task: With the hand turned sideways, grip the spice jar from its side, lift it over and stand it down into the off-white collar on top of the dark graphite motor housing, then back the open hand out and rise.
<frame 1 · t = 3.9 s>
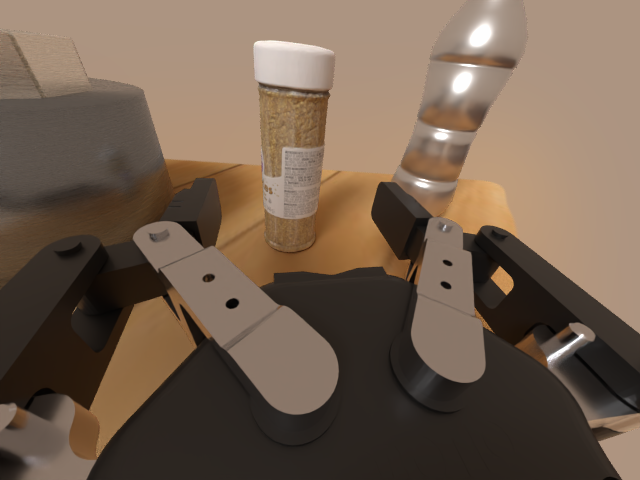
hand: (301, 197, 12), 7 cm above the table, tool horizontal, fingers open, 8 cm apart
plastic bottle: (411, 212, 28), on the table
motor housing: (75, 234, 19), on the table
spice jar: (290, 240, 21), on the table
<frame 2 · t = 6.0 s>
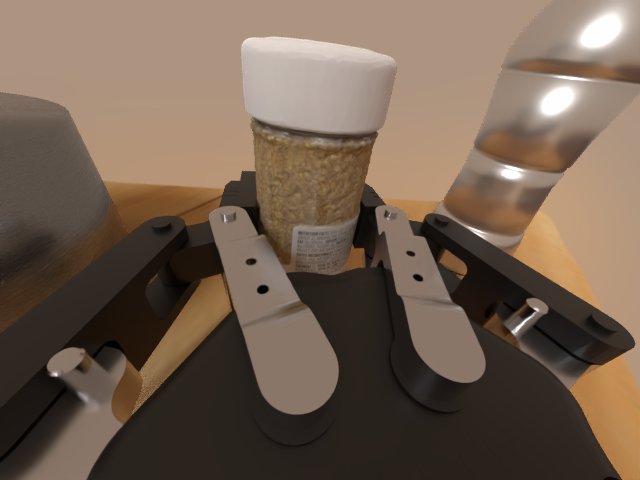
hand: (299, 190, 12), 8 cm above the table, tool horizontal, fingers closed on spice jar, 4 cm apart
plastic bottle: (452, 261, 21), on the table
spice jar: (298, 320, 15), on the table, touching gripper
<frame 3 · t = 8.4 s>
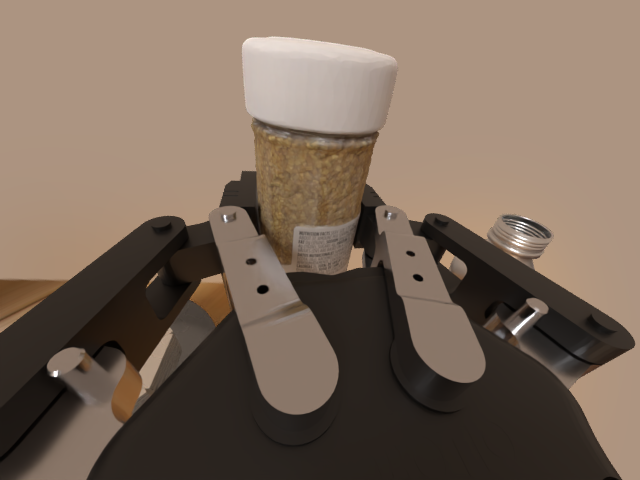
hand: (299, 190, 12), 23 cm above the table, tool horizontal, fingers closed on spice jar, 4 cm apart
plastic bottle: (429, 352, 31), on the table
motor housing: (152, 424, 22), on the table
spice jar: (299, 320, 15), point 16 cm above the table, touching gripper
when the fingers open (19 cm above the table, at t = 10.7 s): spice jar drops 1 cm, resting on motor housing.
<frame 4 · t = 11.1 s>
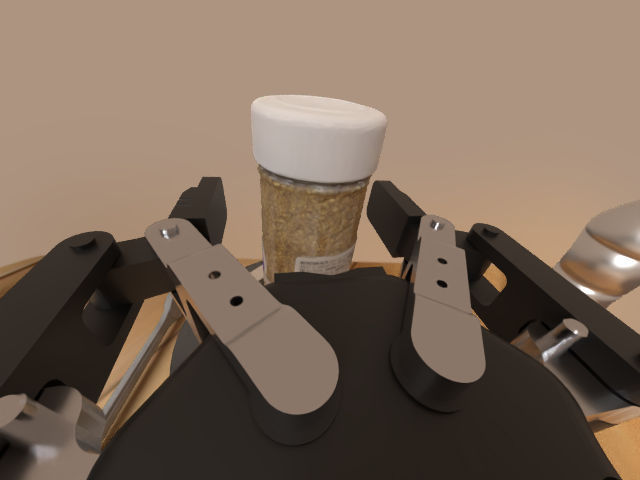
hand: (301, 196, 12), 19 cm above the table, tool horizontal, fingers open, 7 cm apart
combination wrench: (141, 388, 21), on the table
plastic bottle: (531, 326, 31), on the table
motor housing: (293, 390, 22), on the table
spice jar: (300, 334, 16), point 10 cm above the table, touching motor housing
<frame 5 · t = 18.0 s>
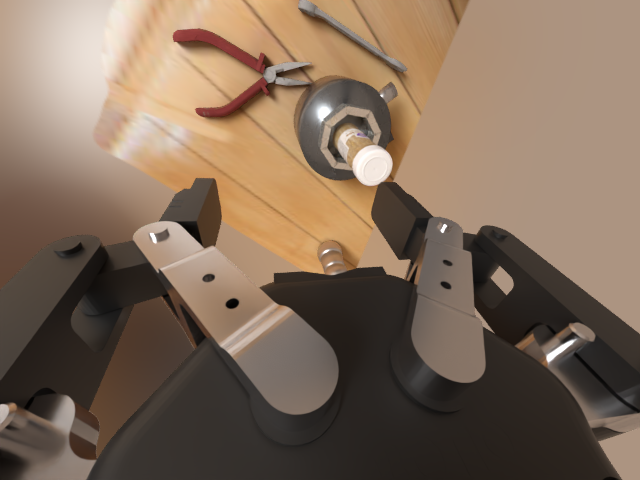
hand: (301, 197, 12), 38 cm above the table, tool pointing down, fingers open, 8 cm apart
combination wrench: (353, 41, 39), on the table
plastic bottle: (327, 246, 66), on the table
pliers: (245, 85, 40), on the table
motor housing: (332, 122, 46), on the table
spice jar: (345, 137, 38), point 10 cm above the table, touching motor housing
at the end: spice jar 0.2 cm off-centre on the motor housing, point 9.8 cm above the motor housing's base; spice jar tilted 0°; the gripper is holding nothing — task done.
